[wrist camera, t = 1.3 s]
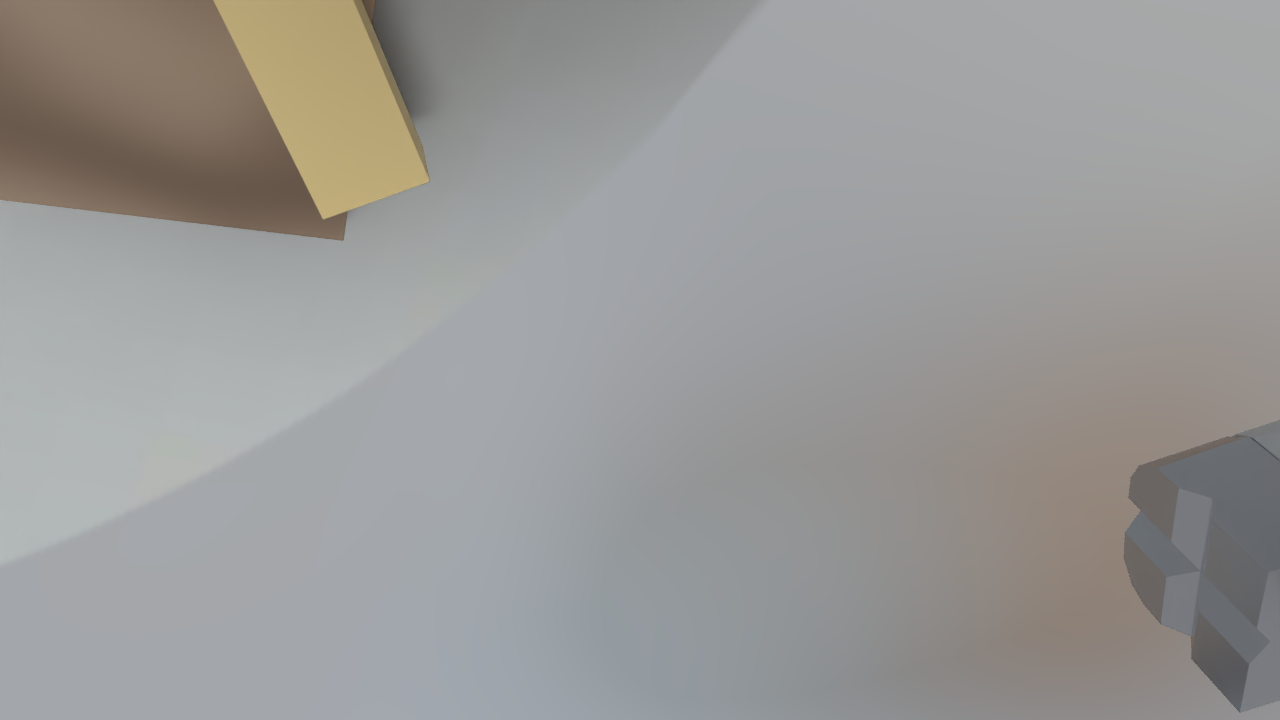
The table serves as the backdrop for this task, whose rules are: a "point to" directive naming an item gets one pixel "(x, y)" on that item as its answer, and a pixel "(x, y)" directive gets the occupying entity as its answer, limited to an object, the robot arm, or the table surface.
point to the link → (329, 97)
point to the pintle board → (143, 117)
